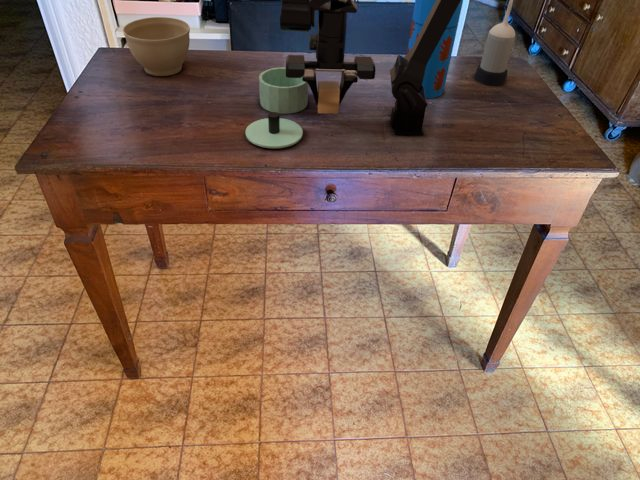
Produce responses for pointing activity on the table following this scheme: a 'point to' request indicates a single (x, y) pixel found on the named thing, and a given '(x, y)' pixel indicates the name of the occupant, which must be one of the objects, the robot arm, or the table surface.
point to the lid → (274, 132)
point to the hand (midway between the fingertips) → (327, 104)
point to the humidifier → (496, 53)
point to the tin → (282, 92)
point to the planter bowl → (158, 44)
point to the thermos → (442, 52)
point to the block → (328, 97)
